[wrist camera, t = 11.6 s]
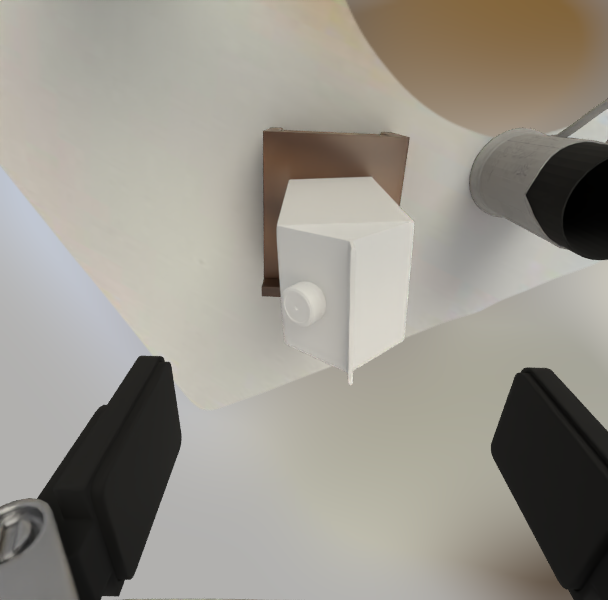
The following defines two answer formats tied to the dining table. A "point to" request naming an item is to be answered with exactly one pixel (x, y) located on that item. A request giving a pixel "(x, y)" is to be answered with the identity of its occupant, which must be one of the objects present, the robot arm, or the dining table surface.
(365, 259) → the milk carton
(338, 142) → the brown wooden box
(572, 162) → the glass holder
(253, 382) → the dining table surface
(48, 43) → the dining table surface
